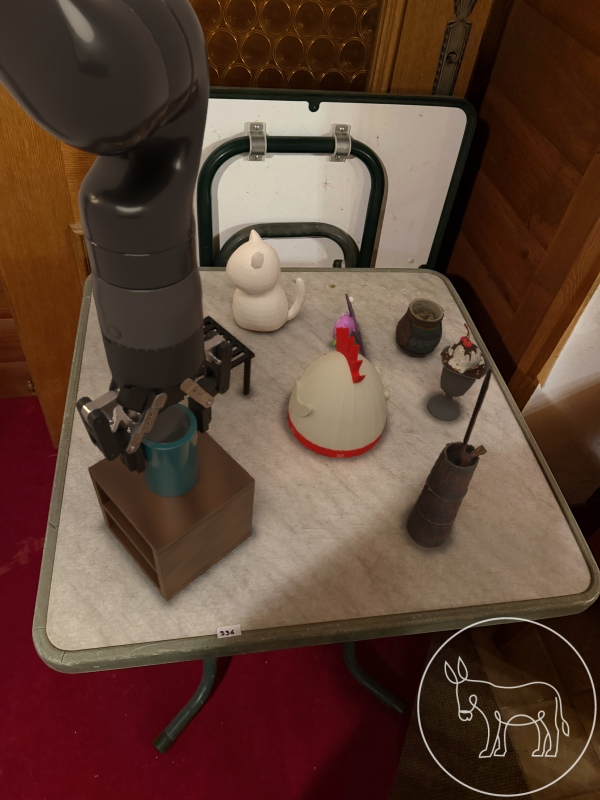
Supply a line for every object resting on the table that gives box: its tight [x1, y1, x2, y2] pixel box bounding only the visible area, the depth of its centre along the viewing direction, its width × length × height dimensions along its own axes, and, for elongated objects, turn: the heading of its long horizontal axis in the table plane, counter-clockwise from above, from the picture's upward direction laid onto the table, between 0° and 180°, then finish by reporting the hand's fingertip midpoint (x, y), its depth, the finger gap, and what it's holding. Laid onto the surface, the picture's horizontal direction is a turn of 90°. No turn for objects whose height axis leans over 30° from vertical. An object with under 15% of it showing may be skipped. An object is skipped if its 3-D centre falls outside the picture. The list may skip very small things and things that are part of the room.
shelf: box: [87, 430, 256, 602], centre depth 61 cm, size 12×12×12 cm
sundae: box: [426, 322, 491, 422], centre depth 78 cm, size 7×7×15 cm
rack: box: [186, 315, 256, 396], centre depth 77 cm, size 14×10×8 cm
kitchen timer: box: [286, 327, 391, 459], centre depth 74 cm, size 14×14×15 cm
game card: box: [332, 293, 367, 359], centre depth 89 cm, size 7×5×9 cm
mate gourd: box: [395, 297, 445, 357], centre depth 88 cm, size 7×8×10 cm
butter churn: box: [406, 365, 494, 549], centre depth 59 cm, size 9×10×28 cm
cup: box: [138, 402, 200, 497], centre depth 54 cm, size 6×6×8 cm
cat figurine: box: [225, 229, 307, 332], centre depth 87 cm, size 9×12×15 cm
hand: (168, 445), depth 53 cm, fingers open, 6 cm apart
